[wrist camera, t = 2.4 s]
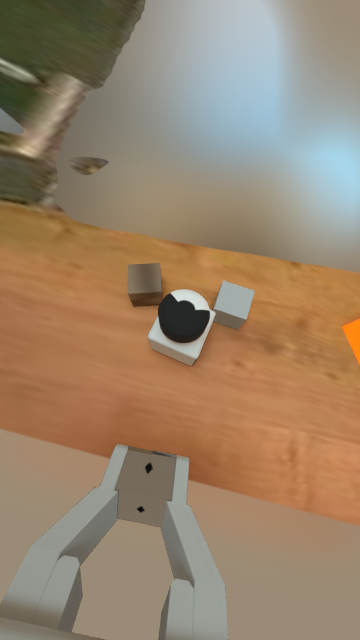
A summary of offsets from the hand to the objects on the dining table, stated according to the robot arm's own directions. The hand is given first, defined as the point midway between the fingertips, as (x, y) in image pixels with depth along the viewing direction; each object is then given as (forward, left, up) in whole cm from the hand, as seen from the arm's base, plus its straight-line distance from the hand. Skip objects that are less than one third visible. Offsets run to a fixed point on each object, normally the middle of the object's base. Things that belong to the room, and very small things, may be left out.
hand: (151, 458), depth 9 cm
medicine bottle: (0, +12, -25) cm, 28 cm away
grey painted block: (+7, +18, -25) cm, 32 cm away
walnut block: (-7, +19, -25) cm, 32 cm away
